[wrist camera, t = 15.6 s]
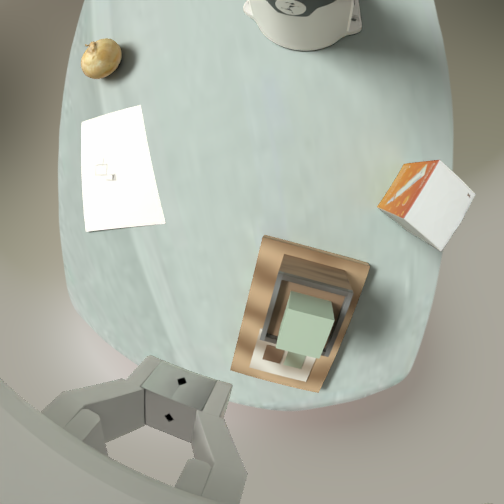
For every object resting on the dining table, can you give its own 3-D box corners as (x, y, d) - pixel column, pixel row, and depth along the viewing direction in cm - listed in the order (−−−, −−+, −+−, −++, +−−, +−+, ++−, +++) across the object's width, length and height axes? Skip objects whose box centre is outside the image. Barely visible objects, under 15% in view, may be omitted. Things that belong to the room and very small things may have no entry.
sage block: (290, 290, 34) (288, 308, 29) (331, 301, 34) (334, 320, 29) (280, 326, 35) (275, 347, 31) (318, 336, 35) (319, 358, 30)
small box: (403, 162, 37) (440, 157, 25) (434, 188, 37) (478, 194, 24) (375, 207, 39) (402, 219, 27) (406, 232, 39) (442, 253, 27)
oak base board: (264, 234, 43) (250, 252, 33) (367, 262, 41) (385, 288, 31) (233, 363, 50) (215, 403, 39) (318, 385, 48) (318, 428, 38)
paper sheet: (85, 110, 44) (82, 109, 43) (232, 91, 40) (231, 89, 39) (82, 230, 50) (78, 231, 49) (225, 240, 46) (224, 241, 45)
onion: (133, 60, 40) (111, 47, 33) (103, 90, 42) (78, 82, 35) (117, 37, 39) (96, 25, 32) (89, 66, 41) (66, 57, 35)
